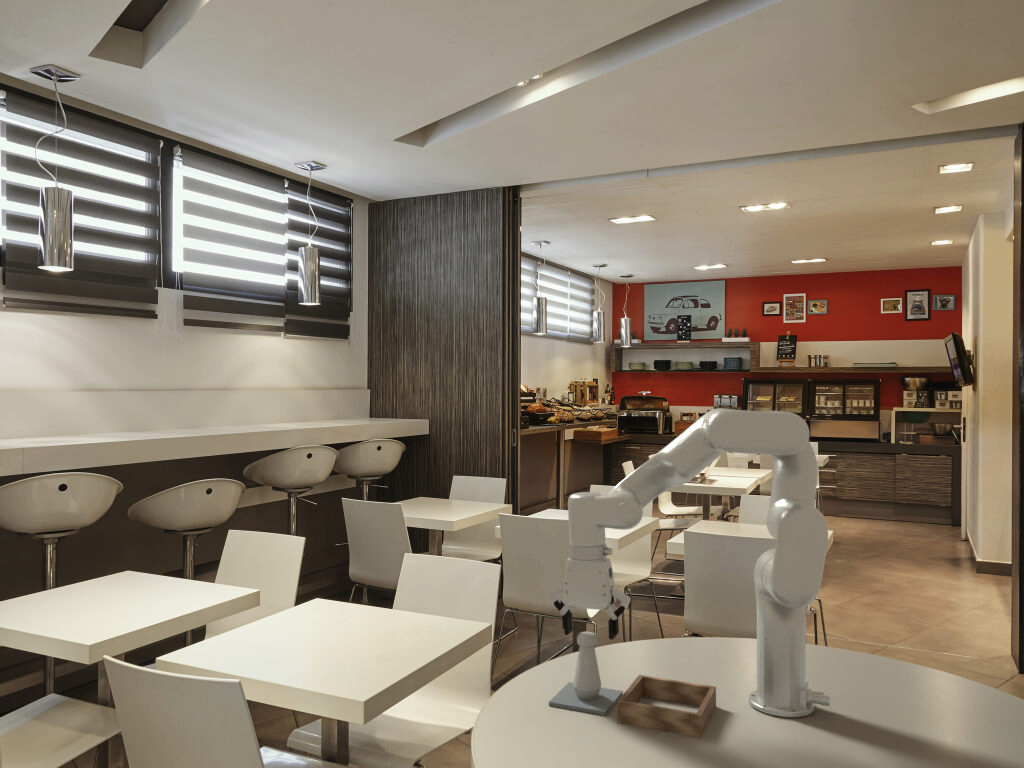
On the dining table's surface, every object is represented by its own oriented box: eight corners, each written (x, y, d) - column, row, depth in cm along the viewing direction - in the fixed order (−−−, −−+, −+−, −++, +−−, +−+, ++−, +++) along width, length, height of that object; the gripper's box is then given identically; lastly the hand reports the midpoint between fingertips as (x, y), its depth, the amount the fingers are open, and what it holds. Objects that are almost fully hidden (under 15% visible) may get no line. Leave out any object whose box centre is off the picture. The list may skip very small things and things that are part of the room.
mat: (622, 694, 164) (622, 690, 164) (605, 715, 154) (605, 711, 154) (569, 685, 169) (569, 682, 169) (548, 705, 158) (548, 701, 158)
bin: (716, 706, 158) (716, 686, 159) (701, 737, 144) (701, 715, 144) (639, 693, 165) (639, 674, 165) (617, 722, 150) (617, 701, 151)
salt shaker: (599, 702, 158) (599, 638, 158) (571, 700, 159) (571, 636, 159) (602, 692, 164) (602, 630, 164) (575, 689, 165) (575, 628, 165)
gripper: (633, 551, 162) (636, 634, 161) (555, 547, 169) (558, 626, 169) (622, 558, 155) (625, 645, 155) (542, 553, 162) (545, 636, 162)
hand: (590, 635), depth 162 cm, fingers open, 9 cm apart
